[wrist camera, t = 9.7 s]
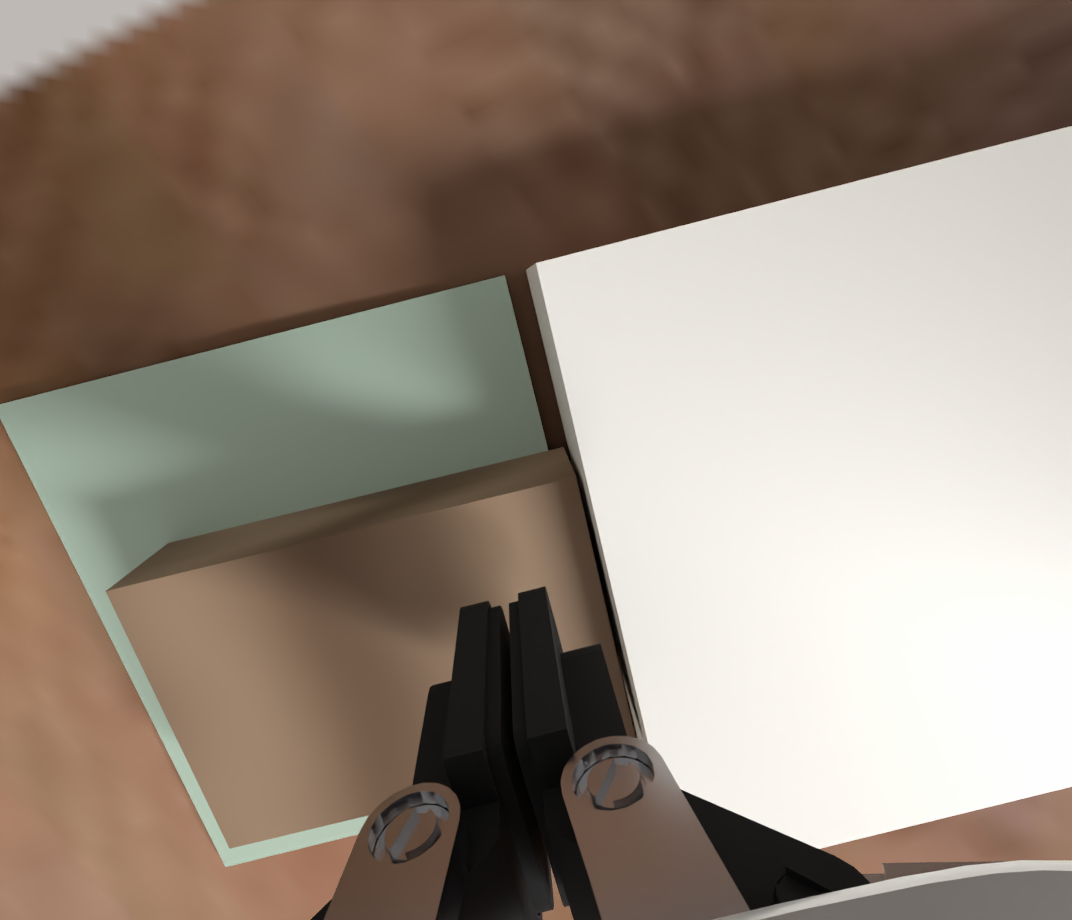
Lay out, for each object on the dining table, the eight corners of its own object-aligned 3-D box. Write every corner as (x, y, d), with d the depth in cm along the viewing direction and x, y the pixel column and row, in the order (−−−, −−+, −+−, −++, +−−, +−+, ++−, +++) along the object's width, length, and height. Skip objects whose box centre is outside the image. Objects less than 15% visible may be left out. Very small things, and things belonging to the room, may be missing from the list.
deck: (1291, 74, 14) (1592, -8, 10) (1243, 606, 18) (1449, 694, 14) (526, 270, 14) (536, 263, 10) (641, 755, 18) (680, 882, 14)
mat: (504, 275, 14) (505, 274, 14) (625, 759, 18) (627, 767, 18) (4, 403, 14) (-7, 405, 14) (230, 857, 18) (225, 866, 18)
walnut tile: (563, 446, 15) (575, 477, 13) (618, 685, 17) (638, 750, 15) (168, 543, 15) (105, 591, 13) (267, 769, 17) (229, 848, 15)
